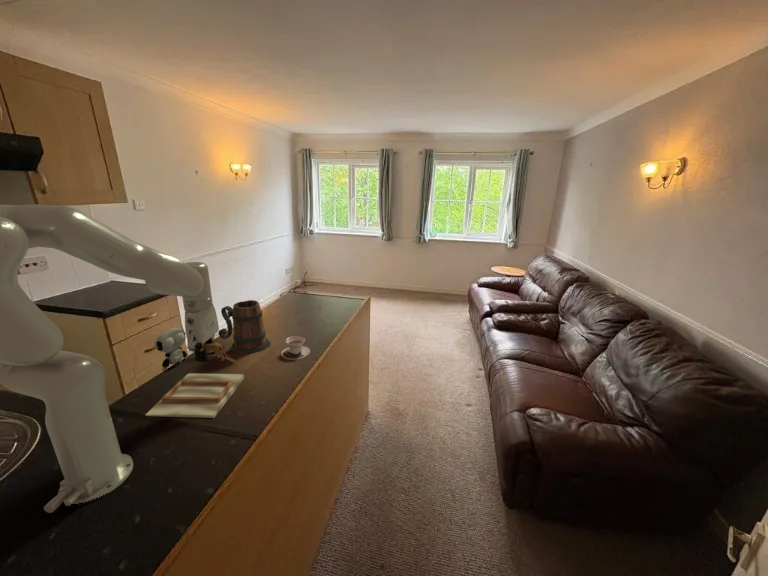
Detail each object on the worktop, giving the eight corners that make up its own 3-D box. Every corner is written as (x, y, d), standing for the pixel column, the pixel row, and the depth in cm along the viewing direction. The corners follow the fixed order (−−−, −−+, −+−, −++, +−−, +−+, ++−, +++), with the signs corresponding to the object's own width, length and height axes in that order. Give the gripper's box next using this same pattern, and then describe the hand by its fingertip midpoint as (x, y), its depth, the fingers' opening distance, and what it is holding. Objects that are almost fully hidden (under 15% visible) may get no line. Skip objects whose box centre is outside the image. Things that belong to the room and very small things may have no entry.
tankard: (278, 340, 143) (275, 299, 137) (256, 358, 127) (251, 313, 122) (234, 334, 148) (229, 294, 142) (207, 350, 132) (200, 307, 126)
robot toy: (167, 374, 115) (160, 337, 110) (158, 372, 116) (150, 336, 111) (194, 358, 126) (189, 324, 122) (185, 356, 127) (179, 323, 123)
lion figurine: (187, 364, 96) (183, 342, 94) (192, 357, 100) (188, 336, 98) (228, 360, 99) (226, 339, 97) (232, 354, 103) (229, 334, 101)
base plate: (214, 419, 93) (213, 411, 92) (146, 419, 92) (144, 411, 92) (244, 377, 114) (243, 371, 113) (188, 377, 114) (187, 370, 113)
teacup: (316, 351, 135) (315, 338, 133) (295, 363, 125) (294, 349, 123) (296, 344, 141) (295, 331, 139) (274, 355, 131) (273, 341, 129)
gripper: (194, 313, 86) (202, 372, 91) (224, 295, 102) (230, 346, 107) (167, 312, 86) (177, 371, 91) (201, 294, 102) (208, 345, 107)
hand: (206, 357), depth 99 cm, fingers closed on lion figurine, 4 cm apart
